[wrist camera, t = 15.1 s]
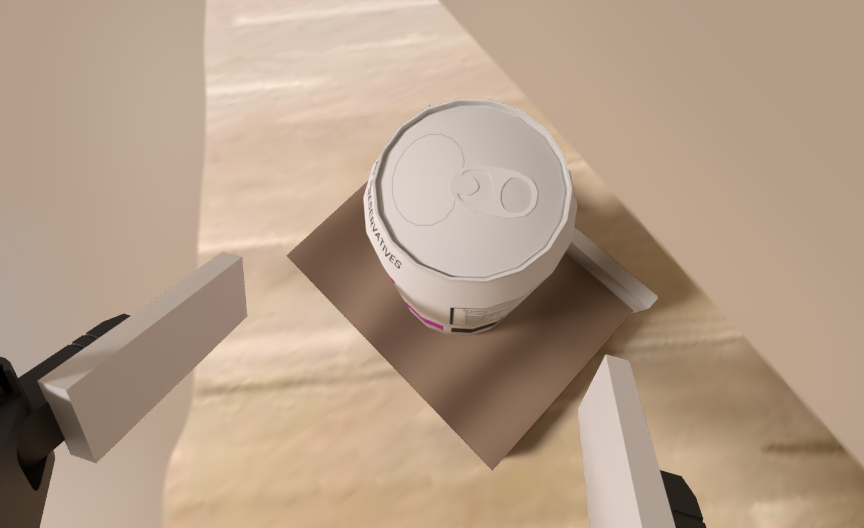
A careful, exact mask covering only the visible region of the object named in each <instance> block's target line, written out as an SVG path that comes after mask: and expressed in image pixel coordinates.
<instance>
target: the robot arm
mask: <svg viewBox="0 0 864 528" xmlns="http://www.w3.org/2000/svg"><path fill="white" fill-rule="evenodd" d="M246 317H247V308H246V296H245V285H244V273H243V261H242V257H240V256H237V255H233V254H229V253H226V252H222V253H221V254H219V255H218V256H216V257H215V258H213V259H212V260H211V261H209V262H208V263H206V264H205V265H203V266H202V267H201V268H199V269H198V270H196V271H195V272H193V273H192V274H190V275H189V276H188V277H186V278H185V279H183V280H182V281H180V282H179V283H177V284H176V285H175V286H173V287H172V288H170V289H169V290H168V291H166V292H165V293H163V294H162V295H160V296H159V297H157V298H156V299H155V300H153V301H152V302H150V303H149V304H147V305H146V306H145V307H143V308H142V309H140V310H139V311H137V312H136V313H134V314H133V315H131V316H130V315H126V314H122V315H119V316H117V317H114V318H111V319H109V320H106V321H104V322H102V323H100V324H99V325H97V326H96V327H94V328H93V329H92V330H90V331H88V332H87V333H86V335H85V336H81V337H79V338H78V339H76V340H75V341H73V342H72V344H71V345H68V346H66V347H64V348H63V349H61V350H60V351H58V352H57V353H55V354H54V355H52V356H51V357H49V358H48V359H46V360H45V361H43V362H42V363H40V364H39V365H37V366H36V367H34V368H33V369H31V370H30V371H28V372H27V373H25V374H24V375H22V376H21V377H19V378H18V377H17V375H16V373H15V371H14V369H13V367H12V365H11V363H10V362H9V361H8V360H7V359H6V358H3V357H0V528H40V523H41V518H42V514H43V510H44V506H45V501H46V497H47V492H48V488H49V483H50V479H51V475H52V470H53V466H54V461H55V454H54V451H53V450H54V449H55V448H56V447H57V446H58V445H60V444H61V443H62V442H63V441H65V443H66V445H67V447H68V449H69V451H70V454H71V455H74V456H77V457H80V458H83V459H86V460H89V461H92V462H94V463H97V462H98V461H99V460H100V459H101V458H102V457H103V456H104V455H105V454H106V453H107V452H108V451H109V450H110V449H111V448H112V447H113V446H114V445H115V444H116V443H118V442H119V441H120V440H121V439H122V438H123V437H124V436H125V435H126V434H127V433H128V432H129V431H130V430H131V429H132V428H133V427H134V426H135V425H136V424H137V423H138V422H139V421H140V420H141V419H142V418H143V417H144V416H145V415H146V414H147V413H148V412H149V411H150V410H151V409H152V408H153V407H154V406H156V404H157V403H159V402H160V401H161V400H162V399H163V398H164V397H165V396H166V395H167V394H168V393H169V392H170V391H171V390H172V389H173V388H174V387H175V386H176V385H177V384H178V383H179V382H180V381H181V380H182V379H183V378H184V377H185V376H186V375H187V374H188V373H189V372H190V371H191V370H192V369H193V368H195V367H196V366H197V365H198V364H199V363H200V362H201V361H202V360H203V359H204V358H205V357H206V356H207V355H208V354H209V353H210V352H211V351H212V350H213V349H214V348H215V347H216V346H217V345H218V344H219V343H220V342H221V341H222V340H223V339H224V338H225V337H226V336H227V335H228V334H229V333H230V332H231V331H233V330H234V329H235V328H236V327H237V326H238V325H239V324H240V323H241V322H242V321H243V320H244V319H245V318H246ZM578 419H579V428H580V438H581V447H582V457H583V467H584V476H585V486H586V495H587V505H588V515H589V524H590V528H706V525H705V523H703V517H702V514H701V511H700V508H699V505H698V502H697V499H696V497H695V495H694V494H693V492H692V491H691V489H690V488H689V486H688V485H687V484H686V482H685V481H684V479H683V478H682V476H679V475H675V474H672V473H668V472H665V471H661V470H660V469H659V466H658V462H657V459H656V455H655V451H654V448H653V444H652V441H651V437H650V433H649V430H648V426H647V423H646V419H645V415H644V412H643V408H642V405H641V401H640V397H639V394H638V390H637V387H636V383H635V379H634V376H633V372H632V369H631V365H630V361H629V360H625V359H622V358H618V357H614V356H610V355H607V354H606V355H605V357H604V359H603V361H602V363H601V365H600V367H599V369H598V371H597V373H596V375H595V377H594V379H593V381H592V382H591V384H590V386H589V388H588V390H587V392H586V394H585V396H584V398H583V400H582V402H581V404H580V406H579V408H578Z"/></svg>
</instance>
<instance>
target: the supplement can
mask: <svg viewBox="0 0 864 528" xmlns="http://www.w3.org/2000/svg"><path fill="white" fill-rule="evenodd" d="M363 200H364V212H365V223H366V233H367V235H368V237H369V239H370V241H371V243H372V245H373V247H374V249H375V251H376V253H377V255H378V257H379V259H380V261H381V263H382V265H383V267H384V268H385V270H386V272H387V273H388V275H389V277H390V278H391V280H392V281H393V283H394V285H395V286H396V288H397V290H398V291H399V293H400V295H401V296H402V298H403V299H404V301H405V303H406V304H407V306H408V308H409V309H410V311H411V312H412V313H413V314H414V315H415V316H416V317H417V318H418V319H419V320H420V321H421V322H422V323H424V324H425V325H426V326H427V327H429V328H431V329H434V330H436V331H438V332H441V333H443V334H445V335H455V336H471V335H474V334H477V333H480V332H484V331H487V330H490V329H491V328H492V327H493V326H495V325H496V324H497V323H499V322H500V321H501V320H502V319H504V318H505V317H506V316H507V315H508V314H509V313H511V312H512V311H513V310H514V309H515V308H516V307H517V306H518V305H519V304H520V303H521V302H522V301H523V300H524V299H525V298H526V297H527V296H528V295H530V294H531V293H532V292H533V291H534V290H535V289H536V288H537V287H538V286H539V285H540V284H541V283H542V282H543V281H544V280H545V279H546V278H547V277H548V276H550V275H551V274H552V273H553V272H554V270H555V268H556V266H557V265H558V263H559V261H560V260H561V258H562V256H563V255H564V253H565V251H566V250H567V248H568V246H569V245H570V243H571V241H572V238H573V231H574V225H575V219H576V212H577V206H578V205H577V201H576V196H575V192H574V187H573V183H572V178H571V174H570V171H569V169H568V166H567V161H566V157H565V155H564V154H563V152H562V151H561V149H560V148H559V146H558V145H557V143H556V142H555V140H554V139H553V137H552V136H551V134H550V133H549V131H548V130H547V129H546V128H545V127H543V126H542V125H541V124H539V123H538V122H537V121H535V120H534V119H533V118H531V117H530V116H529V115H527V114H526V113H525V112H524V111H522V110H520V109H517V108H514V107H511V106H508V105H505V104H502V103H499V102H496V101H494V100H491V99H455V100H451V101H448V102H445V103H441V104H438V105H434V106H431V107H427V108H425V109H424V110H422V111H421V112H419V113H418V114H416V115H415V116H413V117H412V118H411V119H409V120H408V121H406V122H405V123H403V124H402V125H400V126H399V128H398V129H397V130H396V132H395V133H394V134H393V136H392V137H391V138H390V140H389V141H388V142H387V144H386V145H385V146H384V148H383V149H382V150H381V153H380V156H379V158H378V159H377V160H376V162H375V163H374V164H373V166H372V170H371V173H370V177H369V180H368V184H367V187H366V190H365V194H364V197H363Z"/></svg>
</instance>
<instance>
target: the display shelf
mask: <svg viewBox="0 0 864 528" xmlns="http://www.w3.org/2000/svg"><path fill="white" fill-rule="evenodd" d="M428 107H431V105H429V106H428ZM367 184H368V181H367V182H366V183H365V184H364V185H363V186H362V187H361V188H360V189H359V190H358V191H357V192H355V193H354V194H353V195H352V196H351V197H350V198H349V199H348V200H347V201H346V202H345V203H343V204H342V205H341V206H340V207H339V208H338V209H337V210H336V211H335V212H334V213H333V214H331V215H330V216H329V217H328V218H327V219H326V220H325V221H324V222H323V223H322V224H321V225H319V226H318V227H317V228H316V229H315V230H314V231H313V232H312V233H311V234H310V235H309V236H307V237H306V238H305V239H304V240H303V241H302V242H301V243H300V244H299V245H298V246H297V247H295V248H294V249H293V250H292V251H291V252H290V253H289V254H288V255H287V257H288V258H289V259H290V260H291V261H292V262H293V263H294V264H295V265H296V266H297V267H298V268H299V269H300V270H301V271H302V272H303V273H304V274H305V275H306V277H307V278H308V279H309V280H310V281H311V282H312V283H313V284H314V285H315V286H316V287H317V288H318V289H319V290H320V291H321V292H322V293H323V294H324V295H325V296H326V297H327V298H328V299H329V301H330V302H331V303H332V304H333V305H334V306H335V307H336V308H337V309H338V310H339V311H340V312H341V313H342V314H343V315H344V316H345V317H346V318H347V319H348V320H349V321H350V322H351V324H352V325H353V326H354V327H355V328H356V329H357V330H358V331H359V332H360V333H361V334H362V335H363V336H364V337H365V338H366V339H367V340H368V341H369V342H370V343H371V344H372V345H373V346H374V348H375V349H376V350H377V351H378V352H379V353H380V354H381V355H382V356H383V357H384V358H385V359H386V360H387V361H388V362H389V363H390V364H391V365H392V366H393V367H394V368H395V369H396V370H397V372H398V373H399V374H400V375H401V376H402V377H403V378H404V379H405V380H406V381H407V382H408V383H409V384H410V385H411V386H412V387H413V388H414V389H415V390H416V391H417V392H418V393H419V395H420V396H421V397H422V398H423V399H424V400H425V401H426V402H427V403H428V404H429V405H430V406H431V407H432V408H433V409H434V410H435V411H436V412H437V413H438V414H439V415H440V416H441V417H442V419H443V420H444V421H445V422H446V423H447V424H448V425H449V426H450V427H451V428H452V429H453V430H454V431H455V432H456V433H457V434H458V435H459V436H460V437H461V438H462V439H463V440H464V442H465V443H466V444H467V445H468V446H469V447H470V448H471V449H472V450H473V451H474V452H475V453H476V454H477V455H478V456H479V457H480V458H481V459H482V460H483V461H484V462H485V463H486V464H487V466H488V467H489V468H490V469H491V470H493V469H494V468H495V467H496V466H497V465H498V464H499V463H500V461H501V460H502V459H503V458H504V457H505V456H506V455H507V453H508V452H509V451H510V450H511V449H512V448H513V447H514V446H515V444H516V443H517V442H518V441H519V440H520V439H521V438H522V436H523V435H524V434H525V433H526V432H527V431H528V430H529V429H530V427H531V426H532V425H533V424H534V423H535V422H536V421H537V419H538V418H539V417H540V416H541V415H542V414H543V413H544V411H545V410H546V409H547V408H548V407H549V406H550V405H551V404H552V402H553V401H554V400H555V399H556V398H557V397H558V396H559V394H560V393H561V392H562V391H563V390H564V389H565V388H566V387H567V385H568V384H569V383H570V382H571V381H572V380H573V379H574V377H575V376H576V375H577V374H578V373H579V372H580V371H581V370H582V368H583V367H584V366H585V365H586V364H587V363H588V362H589V360H590V359H591V358H592V357H593V356H594V355H595V354H596V352H597V351H598V350H599V349H600V348H601V347H602V346H603V345H604V343H605V342H606V341H607V340H608V339H609V338H610V337H611V335H612V334H613V333H614V332H615V331H616V330H617V329H618V328H619V326H620V325H621V324H622V323H623V322H624V321H625V320H626V318H627V317H628V316H629V315H630V314H633V313H636V312H639V311H643V310H646V309H649V308H650V307H651V306H652V305H653V303H654V302H655V301H656V300H657V299H658V298H659V297H658V296H657V295H656V294H654V293H653V292H652V291H651V290H650V289H649V288H647V287H646V286H645V285H644V284H643V283H641V282H640V281H639V280H638V279H637V278H635V277H634V276H633V275H632V274H631V273H629V272H628V271H627V270H626V269H625V268H624V267H622V266H621V265H620V264H619V263H618V262H616V261H615V260H614V259H613V258H612V257H610V256H609V255H608V254H607V253H606V252H605V251H603V250H602V249H601V248H600V247H599V246H597V245H596V244H595V243H594V242H593V241H591V240H590V239H589V238H588V237H587V236H585V235H584V234H583V233H582V232H581V231H580V230H578V229H577V228H576V227H575V226H574V231H573V238H572V241H571V243H570V245H569V246H568V248H567V250H566V251H565V253H564V255H563V256H562V258H561V260H560V261H559V263H558V265H557V266H556V268H555V270H554V272H553V273H552V274H551V275H550V276H548V277H547V278H546V279H545V280H544V281H543V282H542V283H541V284H540V285H539V286H538V287H537V288H536V289H535V290H534V291H533V292H532V293H531V294H530V295H528V296H527V297H526V298H525V299H524V300H523V301H522V302H521V303H520V304H519V305H518V306H517V307H516V308H515V309H514V310H513V311H512V312H511V313H509V314H508V315H507V316H506V317H505V318H504V319H502V320H501V321H500V322H499V323H497V324H496V325H495V326H493V327H492V328H491V329H490V330H487V331H484V332H480V333H477V334H474V335H471V336H455V335H445V334H443V333H441V332H438V331H436V330H434V329H431V328H429V327H427V326H426V325H425V324H424V323H422V322H421V321H420V320H419V319H418V318H417V317H416V316H415V315H414V314H413V313H412V312H411V311H410V309H409V308H408V306H407V304H406V303H405V301H404V299H403V298H402V296H401V295H400V293H399V291H398V290H397V288H396V286H395V285H394V283H393V281H392V280H391V278H390V277H389V275H388V273H387V272H386V270H385V268H384V267H383V265H382V263H381V261H380V259H379V257H378V255H377V253H376V251H375V249H374V247H373V245H372V243H371V241H370V239H369V237H368V235H367V233H366V223H365V212H364V200H363V197H364V194H365V190H366V187H367Z"/></svg>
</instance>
